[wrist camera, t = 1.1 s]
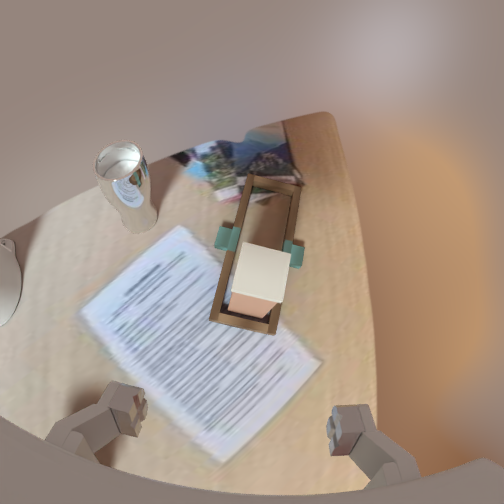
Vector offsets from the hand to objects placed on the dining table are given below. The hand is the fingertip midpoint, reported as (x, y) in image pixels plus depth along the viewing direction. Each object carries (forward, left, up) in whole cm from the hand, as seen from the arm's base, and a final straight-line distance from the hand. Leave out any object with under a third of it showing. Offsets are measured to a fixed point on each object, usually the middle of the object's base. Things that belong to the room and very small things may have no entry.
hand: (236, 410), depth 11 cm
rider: (+1, +12, -30) cm, 32 cm away
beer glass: (-19, +21, -30) cm, 41 cm away
